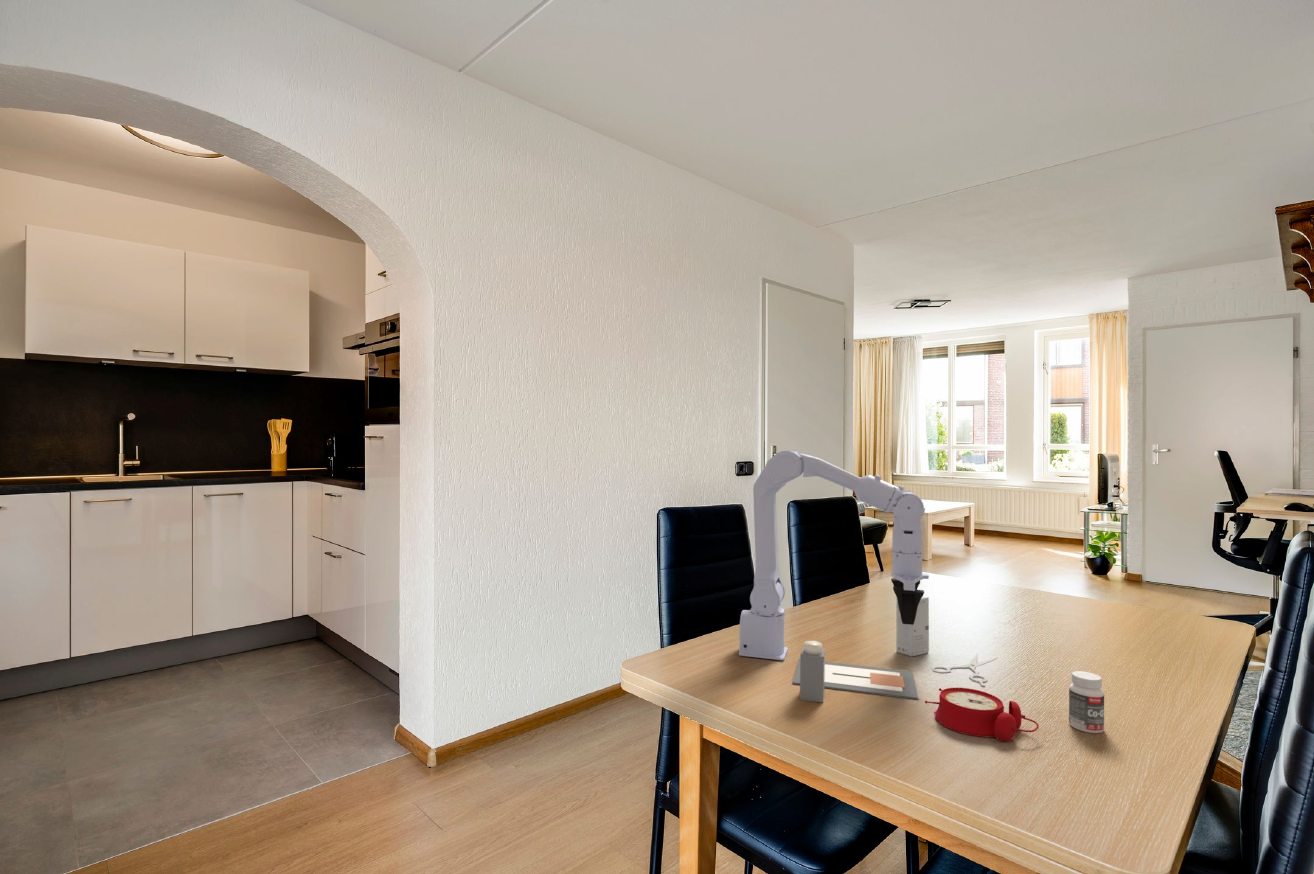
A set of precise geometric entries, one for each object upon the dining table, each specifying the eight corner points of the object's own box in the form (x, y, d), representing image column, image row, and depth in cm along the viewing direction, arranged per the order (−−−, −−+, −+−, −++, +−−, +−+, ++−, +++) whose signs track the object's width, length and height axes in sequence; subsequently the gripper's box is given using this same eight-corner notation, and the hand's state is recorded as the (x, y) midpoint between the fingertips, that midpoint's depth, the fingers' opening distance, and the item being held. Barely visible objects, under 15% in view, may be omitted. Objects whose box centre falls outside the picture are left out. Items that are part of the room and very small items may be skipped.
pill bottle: (1091, 736, 100) (1092, 682, 100) (1062, 723, 105) (1062, 672, 105) (1110, 730, 102) (1111, 678, 102) (1081, 719, 107) (1081, 668, 107)
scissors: (927, 671, 128) (961, 648, 142) (927, 675, 128) (961, 651, 142) (984, 685, 120) (1014, 659, 135) (984, 689, 120) (1014, 663, 135)
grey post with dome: (799, 699, 113) (800, 645, 113) (801, 691, 117) (802, 639, 117) (823, 702, 112) (823, 648, 112) (824, 694, 116) (825, 641, 116)
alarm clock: (939, 681, 113) (1036, 683, 103) (947, 719, 112) (1046, 725, 102) (918, 699, 105) (1022, 703, 95) (927, 740, 104) (1033, 749, 94)
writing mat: (792, 683, 121) (792, 681, 121) (799, 660, 134) (799, 657, 134) (918, 699, 114) (918, 696, 114) (912, 672, 127) (912, 670, 127)
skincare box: (912, 657, 137) (913, 600, 137) (894, 651, 140) (895, 596, 141) (930, 652, 140) (930, 597, 140) (912, 646, 144) (912, 592, 144)
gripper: (932, 558, 122) (931, 630, 121) (925, 547, 135) (924, 611, 135) (892, 556, 124) (892, 626, 124) (889, 545, 138) (889, 608, 137)
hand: (906, 618), depth 130 cm, fingers open, 7 cm apart
